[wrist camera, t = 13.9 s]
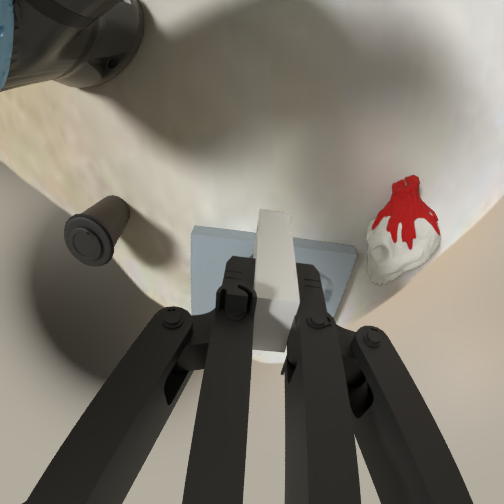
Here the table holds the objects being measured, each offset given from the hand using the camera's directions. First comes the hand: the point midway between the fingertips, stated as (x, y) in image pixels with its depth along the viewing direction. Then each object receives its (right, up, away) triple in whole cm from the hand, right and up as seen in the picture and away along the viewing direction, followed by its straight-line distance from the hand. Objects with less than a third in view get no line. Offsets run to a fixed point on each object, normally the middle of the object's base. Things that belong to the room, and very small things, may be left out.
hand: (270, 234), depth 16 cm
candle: (+20, +5, +25) cm, 33 cm away
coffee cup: (-22, +5, +27) cm, 35 cm away
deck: (+2, -5, +33) cm, 33 cm away
